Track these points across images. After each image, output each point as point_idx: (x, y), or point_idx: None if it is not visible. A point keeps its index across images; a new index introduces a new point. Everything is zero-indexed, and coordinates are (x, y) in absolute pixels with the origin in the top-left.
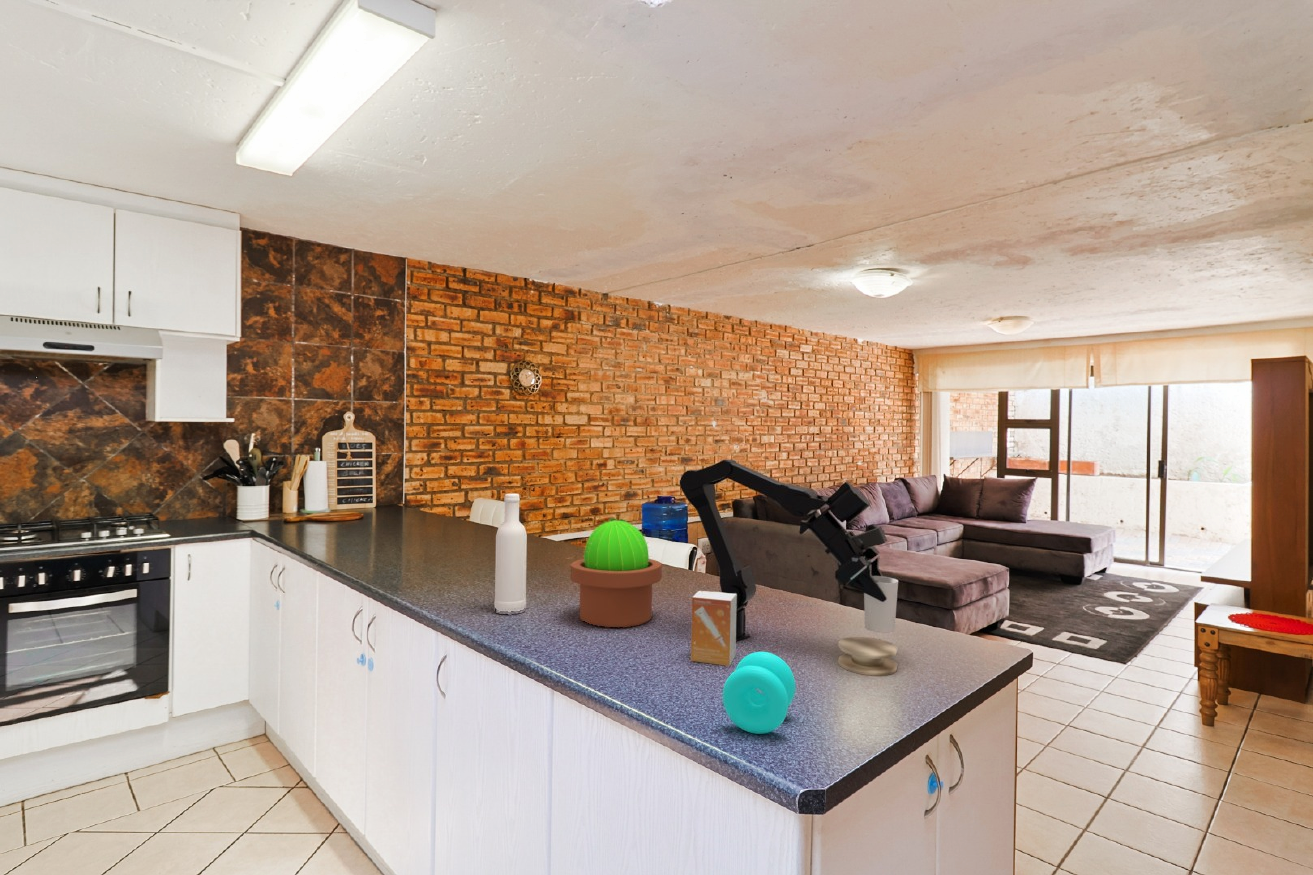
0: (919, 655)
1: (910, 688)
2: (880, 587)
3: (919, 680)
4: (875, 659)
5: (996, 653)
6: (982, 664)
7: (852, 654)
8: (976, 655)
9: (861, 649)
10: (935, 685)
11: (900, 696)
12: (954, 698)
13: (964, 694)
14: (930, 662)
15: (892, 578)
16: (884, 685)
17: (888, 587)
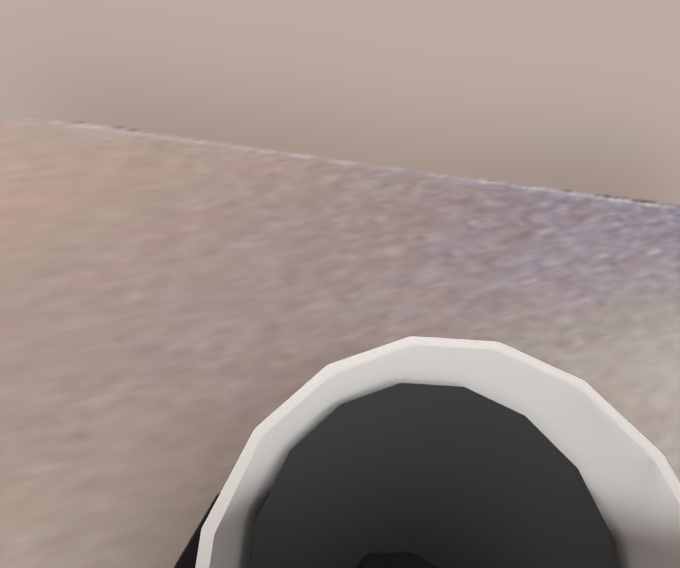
0: (183, 378)
1: (545, 305)
2: (636, 503)
3: (456, 303)
4: None
5: (10, 177)
6: (164, 191)
7: None
8: (69, 220)
9: None
10: (462, 256)
11: (630, 309)
12: (520, 196)
13: (471, 183)
14: (246, 323)
15: (240, 477)
16: (588, 378)
17: (570, 412)
